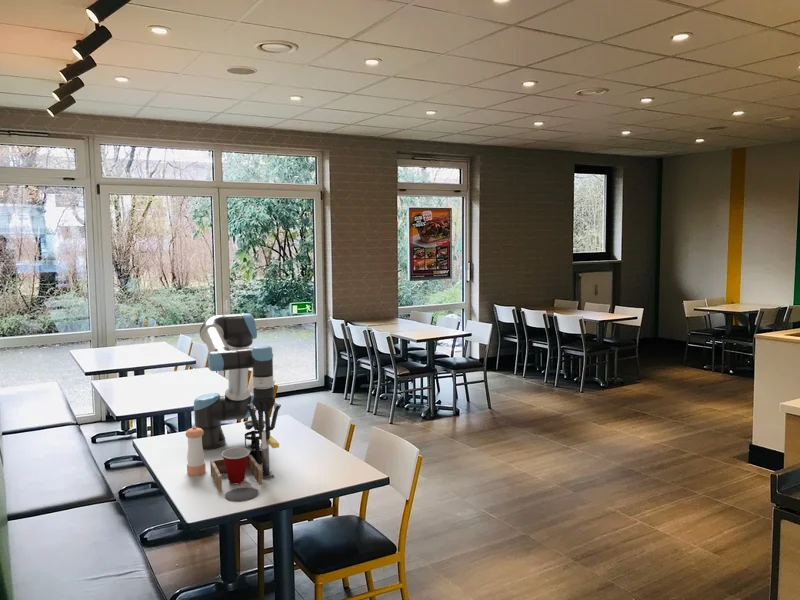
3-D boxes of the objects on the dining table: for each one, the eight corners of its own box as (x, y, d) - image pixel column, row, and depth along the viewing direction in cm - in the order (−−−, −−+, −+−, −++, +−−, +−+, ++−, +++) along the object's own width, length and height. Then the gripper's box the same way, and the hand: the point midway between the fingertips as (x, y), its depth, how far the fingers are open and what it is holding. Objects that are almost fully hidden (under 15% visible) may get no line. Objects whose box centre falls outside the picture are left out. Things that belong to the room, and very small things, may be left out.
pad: (222, 492, 243) (222, 490, 243) (254, 486, 248) (254, 485, 247) (228, 503, 232) (228, 502, 232) (261, 497, 237) (261, 496, 237)
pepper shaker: (204, 474, 262) (202, 428, 260) (185, 476, 260) (183, 429, 259) (206, 468, 269) (204, 423, 267) (188, 470, 268) (186, 424, 266)
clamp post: (258, 475, 260) (257, 437, 258) (271, 473, 262) (269, 436, 260) (261, 479, 255) (259, 441, 254) (273, 477, 257) (272, 439, 256)
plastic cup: (228, 488, 246) (227, 458, 245) (218, 480, 255) (217, 450, 254) (255, 482, 252) (254, 452, 251) (244, 474, 261) (243, 445, 260)
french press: (269, 463, 274) (267, 410, 272) (247, 466, 270) (245, 412, 268) (264, 455, 285) (262, 403, 283) (243, 458, 281) (240, 406, 279)
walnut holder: (210, 475, 261) (210, 460, 261) (251, 468, 268) (251, 454, 268) (218, 492, 243) (218, 476, 242) (262, 484, 250) (261, 469, 249)
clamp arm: (270, 449, 242) (270, 444, 242) (257, 436, 258) (257, 431, 258) (281, 447, 244) (281, 442, 244) (268, 435, 260) (268, 430, 260)
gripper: (243, 389, 242) (245, 450, 244) (277, 389, 241) (279, 451, 243) (249, 384, 249) (251, 444, 251) (282, 384, 249) (284, 444, 251)
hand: (265, 447), depth 247 cm, fingers closed
